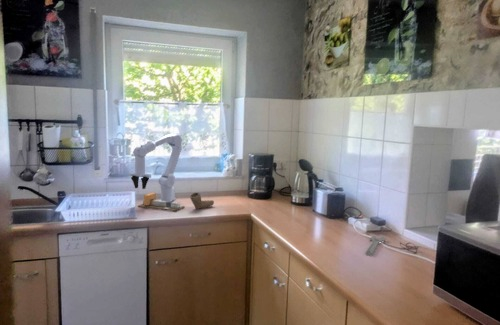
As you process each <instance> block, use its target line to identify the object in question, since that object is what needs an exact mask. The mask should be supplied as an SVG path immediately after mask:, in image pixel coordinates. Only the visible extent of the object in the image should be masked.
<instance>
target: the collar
mask: <svg viewBox="0 0 500 325" xmlns="http://www.w3.org/2000/svg"><path fill="white" fill-rule="evenodd" d="M156 194H157V193H155V192H150V193H147V194H143V199H144V205H150V200H151V199H154V200H157V199H156V198H157V195H156Z"/></svg>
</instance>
